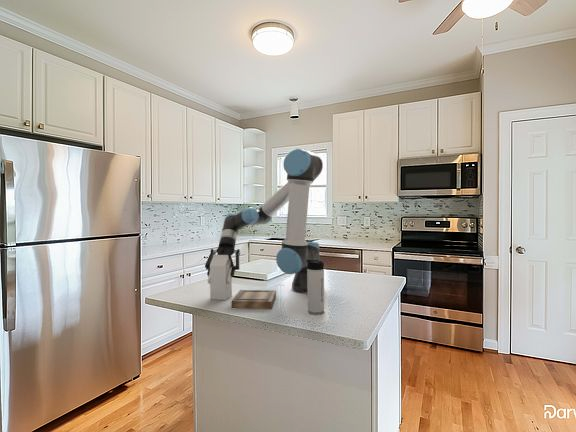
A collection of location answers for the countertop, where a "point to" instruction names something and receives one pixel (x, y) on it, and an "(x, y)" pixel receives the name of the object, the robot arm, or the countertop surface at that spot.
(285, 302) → the countertop surface
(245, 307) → the plinth
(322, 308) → the travel mug
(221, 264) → the milk carton
